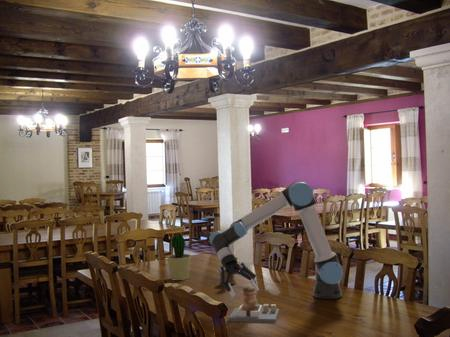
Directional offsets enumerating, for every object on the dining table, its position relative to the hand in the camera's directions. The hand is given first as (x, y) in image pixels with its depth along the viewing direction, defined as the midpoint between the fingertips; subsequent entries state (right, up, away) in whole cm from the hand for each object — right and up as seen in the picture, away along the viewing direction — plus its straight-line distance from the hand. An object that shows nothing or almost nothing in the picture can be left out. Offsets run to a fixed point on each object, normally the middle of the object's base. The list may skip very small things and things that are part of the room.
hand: (245, 293), depth 233 cm
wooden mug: (-7, -10, +62) cm, 63 cm away
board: (+4, -10, -2) cm, 11 cm away
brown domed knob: (+2, -9, -1) cm, 9 cm away
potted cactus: (-39, -12, +82) cm, 92 cm away
